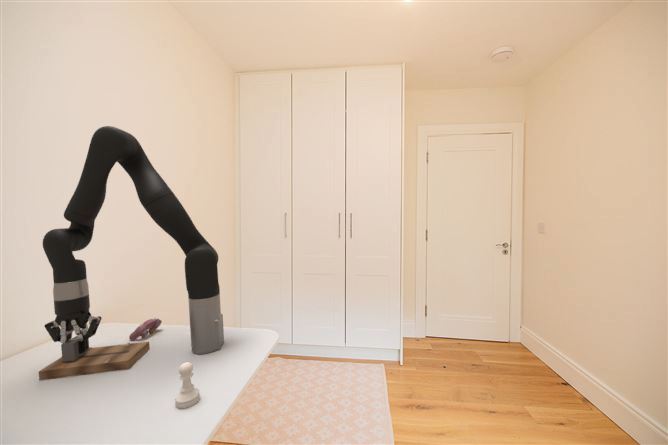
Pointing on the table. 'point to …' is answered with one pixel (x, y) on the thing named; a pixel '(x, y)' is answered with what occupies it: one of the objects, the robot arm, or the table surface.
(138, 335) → the video game controller
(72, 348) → the fader cap
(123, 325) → the table surface
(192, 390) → the chess pawn
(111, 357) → the fader base
